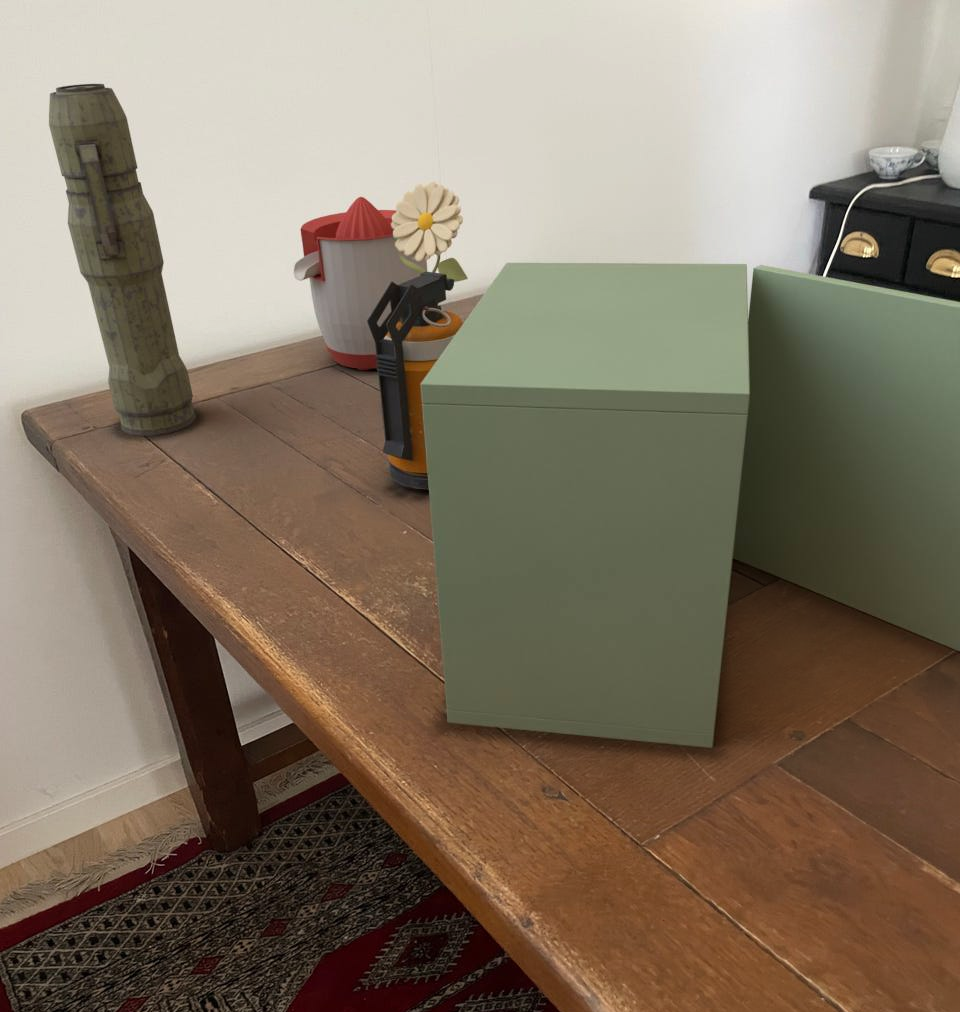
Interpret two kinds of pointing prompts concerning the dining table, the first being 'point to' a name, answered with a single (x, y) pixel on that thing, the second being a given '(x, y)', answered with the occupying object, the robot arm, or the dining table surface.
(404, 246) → the flower in vase
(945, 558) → the cupboard door
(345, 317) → the citrus juicer
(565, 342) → the cupboard
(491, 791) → the dining table surface
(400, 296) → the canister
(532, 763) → the dining table surface
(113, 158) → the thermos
